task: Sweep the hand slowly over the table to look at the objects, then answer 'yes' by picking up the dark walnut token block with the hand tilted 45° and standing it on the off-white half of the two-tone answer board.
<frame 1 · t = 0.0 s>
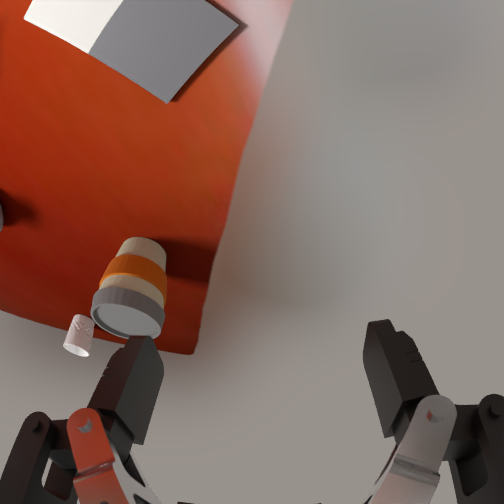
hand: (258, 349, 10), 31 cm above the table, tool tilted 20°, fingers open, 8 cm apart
reusable coffee cup: (143, 252, 54), on the table
white cup: (84, 319, 74), on the table
answer board: (119, 10, 22), on the table
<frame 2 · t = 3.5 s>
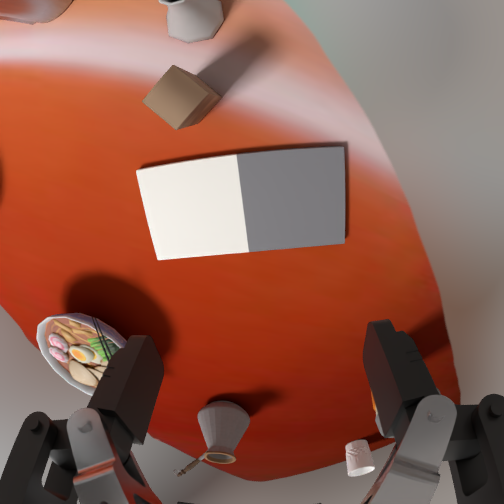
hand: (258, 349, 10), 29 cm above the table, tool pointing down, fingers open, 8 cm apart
token block: (196, 99, 32), on the table
flask: (195, 19, 27), on the table
coffee pot: (210, 415, 61), on the table
white cup: (356, 443, 70), on the table
ramen bowl: (101, 337, 51), on the table
answer board: (243, 203, 38), on the table
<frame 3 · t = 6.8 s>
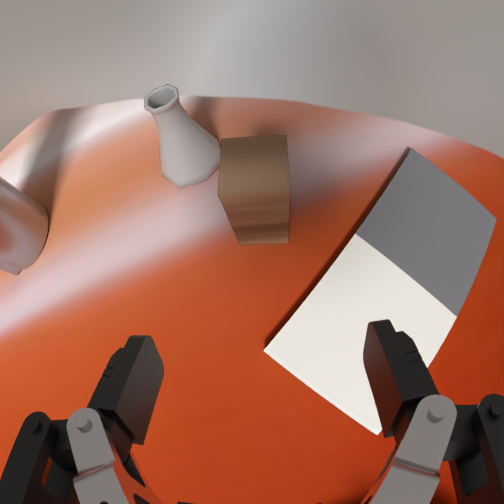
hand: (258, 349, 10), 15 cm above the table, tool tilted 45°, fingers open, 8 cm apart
token block: (263, 221, 28), on the table
flask: (191, 160, 31), on the table
answer board: (405, 278, 25), on the table
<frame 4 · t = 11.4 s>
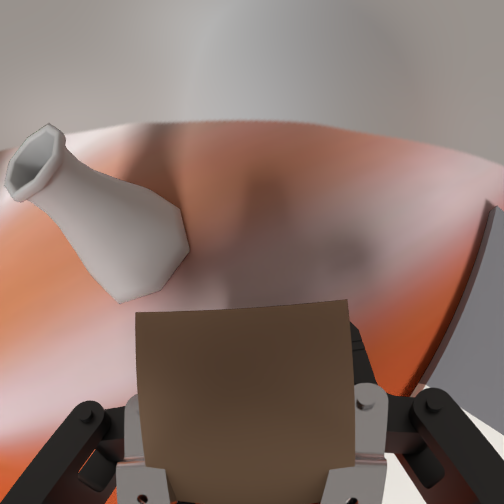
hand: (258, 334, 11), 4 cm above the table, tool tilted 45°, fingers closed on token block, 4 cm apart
token block: (267, 373, 15), on the table, touching gripper
flask: (137, 246, 18), on the table
answer board: (481, 424, 12), on the table
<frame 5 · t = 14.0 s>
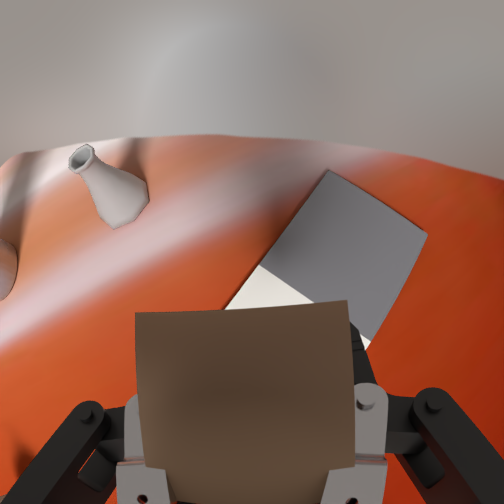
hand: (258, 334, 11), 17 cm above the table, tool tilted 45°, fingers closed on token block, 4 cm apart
token block: (268, 373, 15), point 13 cm above the table, touching gripper
flask: (124, 202, 34), on the table
answer board: (314, 305, 28), on the table
when the fingers open (7 cm above the table, at t = 16.6 s): token block drops 1 cm, resting on answer board.
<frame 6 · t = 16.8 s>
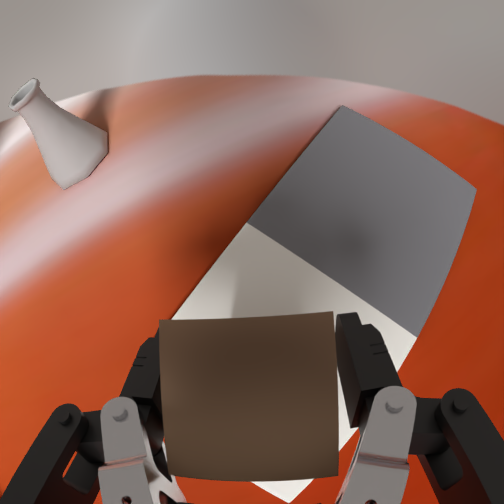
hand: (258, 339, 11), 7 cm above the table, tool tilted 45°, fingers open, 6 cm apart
token block: (268, 371, 16), point 1 cm above the table, touching answer board
flask: (80, 158, 24), on the table
answer board: (331, 283, 18), on the table
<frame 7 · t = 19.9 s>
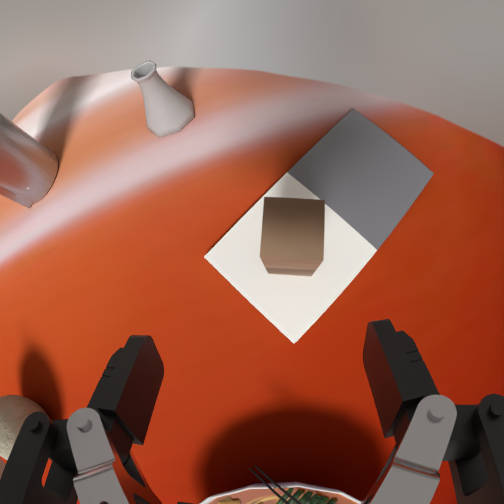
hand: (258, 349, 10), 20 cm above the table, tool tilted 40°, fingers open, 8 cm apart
token block: (291, 253, 30), point 1 cm above the table, touching answer board
flask: (171, 117, 37), on the table
fruit: (42, 419, 31), on the table
answer board: (330, 212, 32), on the table
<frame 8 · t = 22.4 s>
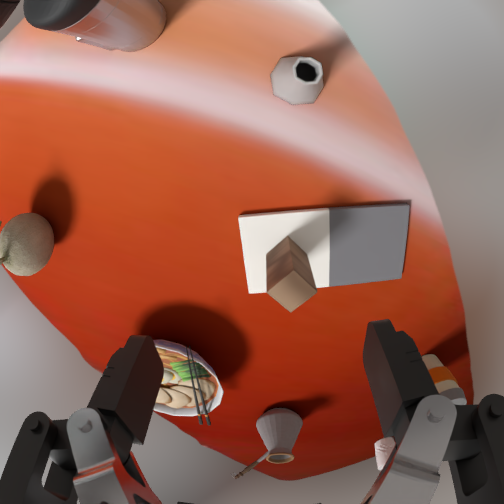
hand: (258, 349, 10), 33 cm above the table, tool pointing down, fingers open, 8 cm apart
token block: (286, 254, 45), point 1 cm above the table, touching answer board
reusable coffee cup: (421, 366, 58), on the table
flask: (296, 80, 34), on the table
coffee pot: (264, 421, 68), on the table
white cup: (383, 440, 76), on the table
ramen bowl: (173, 358, 58), on the table
fruit: (43, 228, 45), on the table
answer board: (328, 247, 45), on the table
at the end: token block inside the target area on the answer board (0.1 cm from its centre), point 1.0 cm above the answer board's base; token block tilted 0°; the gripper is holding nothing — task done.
